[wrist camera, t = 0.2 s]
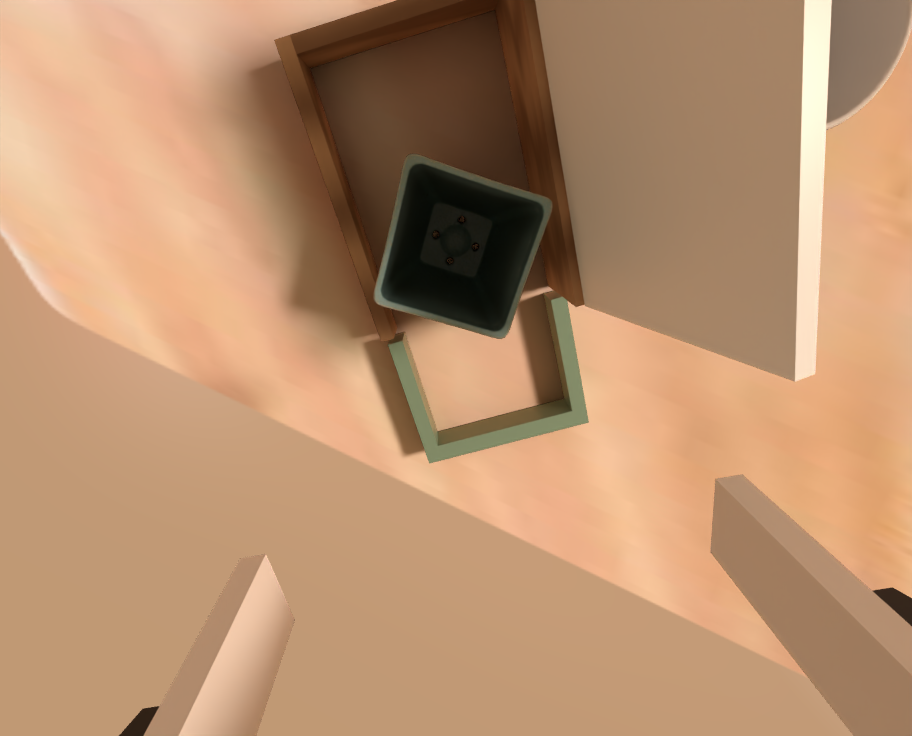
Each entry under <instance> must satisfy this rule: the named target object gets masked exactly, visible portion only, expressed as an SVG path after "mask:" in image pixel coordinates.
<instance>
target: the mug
mask: <svg viewBox="0 0 912 736" xmlns="http://www.w3.org/2000/svg"><path fill="white" fill-rule="evenodd" d="M911 28H912V0H832V6H831V28H830V51H829V73H828V96H827V119H826V130H828V129H830V128H833V127H835V126H837V125H839V124H840V123H842V122H844V121H845V120H847V119H849V118H850V117H851V116H853V115H854V114H856V113H857V112H858V111H859V110H861V109H862V108H863V107H864V106H865V105H866V104H867V103H868V102H869V101H870V100H871V99H872V98H873V97H874V96H875V95H876V94H877V93H878V92H879V90H880V89H881V88H882V86H883V85H884V84H885V83H886V81H887V80H888V78H889V77H890V75H891V74H892V72H893V70H894V69H895V67H896V65H897V63H898V61H899V59H900V57H901V55H902V53H903V51H904V49H905V46H906V44H907V41H908V38H909V35H910V32H911Z"/></svg>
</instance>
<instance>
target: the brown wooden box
mask: <svg viewBox="0 0 912 736" xmlns="http://www.w3.org/2000/svg"><path fill="white" fill-rule="evenodd" d="M492 10H495V12H496V17H497V22H498V27H499V32H500V38H501V43H502V48H503V53H504V58H505V64H506V69H507V74H508V79H509V84H510V90H511V95H512V100H513V105H514V110H515V116H516V121H517V126H518V131H519V137H520V142H521V147H522V152H523V157H524V163H525V168H526V173H527V178H528V183H529V189H530V192H532V193H535V194H539V195H541V196H544V197H547V198H549V199H550V200H551V201H552V212H551V215H550V218H549V220H548V223H547V226H546V228H545V231H544V234H543V237H542V239H541V242H540V246H541V251H542V256H543V261H544V267H545V272H546V277H547V282H548V286H549V287H550V288H551V289H553V290H554V291H555V292H557V293H558V294H559V295H561V296H562V297H563V298H565V299H566V300H567V301H569V302H570V303H571V304H573V305H574V306H575V307H577V306H581V305H585V304H584V298H583V292H582V285H581V279H580V273H579V267H578V261H577V255H576V249H575V242H574V236H573V230H572V224H571V218H570V212H569V206H568V199H567V193H566V187H565V181H564V175H563V169H562V163H561V157H560V150H559V144H558V138H557V132H556V126H555V120H554V114H553V107H552V101H551V95H550V89H549V83H548V77H547V71H546V64H545V58H544V52H543V46H542V40H541V34H540V28H539V21H538V15H537V9H536V3H535V0H397V1H394V2H390V3H387V4H384V5H381V6H378V7H375V8H372V9H369V10H366V11H363V12H360V13H356V14H353V15H350V16H347V17H344V18H341V19H338V20H335V21H332V22H329V23H325V24H322V25H319V26H316V27H313V28H310V29H307V30H304V31H301V32H298V33H295V34H291V35H288V36H285V37H282V38H279V39H276V40H274V41H275V43H276V46H277V49H278V52H279V55H280V58H281V60H282V63H283V66H284V69H285V72H286V74H287V77H288V80H289V83H290V86H291V89H292V91H293V94H294V97H295V100H296V103H297V105H298V108H299V111H300V114H301V117H302V120H303V122H304V125H305V128H306V131H307V134H308V136H309V139H310V142H311V145H312V148H313V151H314V153H315V156H316V159H317V162H318V165H319V167H320V170H321V173H322V176H323V179H324V182H325V184H326V187H327V190H328V193H329V196H330V198H331V201H332V204H333V207H334V210H335V213H336V215H337V218H338V221H339V224H340V227H341V229H342V232H343V235H344V238H345V241H346V244H347V246H348V249H349V252H350V255H351V258H352V260H353V263H354V266H355V269H356V272H357V275H358V277H359V280H360V283H361V286H362V289H363V291H364V294H365V297H366V300H367V303H368V305H369V308H370V311H371V314H372V317H373V320H374V322H375V325H376V328H377V331H378V334H379V336H380V339H381V342H383V341H387V340H391V339H394V336H395V333H396V330H397V326H396V323H395V320H394V317H393V314H392V311H391V308H387V307H383V306H381V305H378V304H377V303H376V302H375V301H374V289H375V285H376V281H377V278H378V274H379V273H378V270H377V267H376V264H375V261H374V258H373V255H372V252H371V249H370V246H369V243H368V240H367V237H366V234H365V231H364V228H363V225H362V222H361V219H360V216H359V213H358V210H357V207H356V204H355V201H354V198H353V195H352V192H351V189H350V186H349V183H348V180H347V177H346V174H345V172H344V169H343V166H342V163H341V160H340V157H339V154H338V151H337V148H336V145H335V142H334V139H333V136H332V133H331V130H330V127H329V124H328V121H327V118H326V115H325V112H324V109H323V106H322V103H321V100H320V97H319V94H318V91H317V88H316V85H315V82H314V79H313V76H312V73H311V70H310V68H313V67H316V66H319V65H322V64H325V63H328V62H332V61H335V60H338V59H341V58H344V57H347V56H350V55H354V54H357V53H360V52H363V51H366V50H369V49H372V48H376V47H379V46H382V45H385V44H388V43H391V42H394V41H398V40H401V39H404V38H407V37H410V36H413V35H417V34H420V33H423V32H426V31H429V30H432V29H435V28H439V27H442V26H445V25H448V24H451V23H454V22H457V21H461V20H464V19H467V18H470V17H473V16H476V15H479V14H483V13H486V12H489V11H492Z"/></svg>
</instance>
